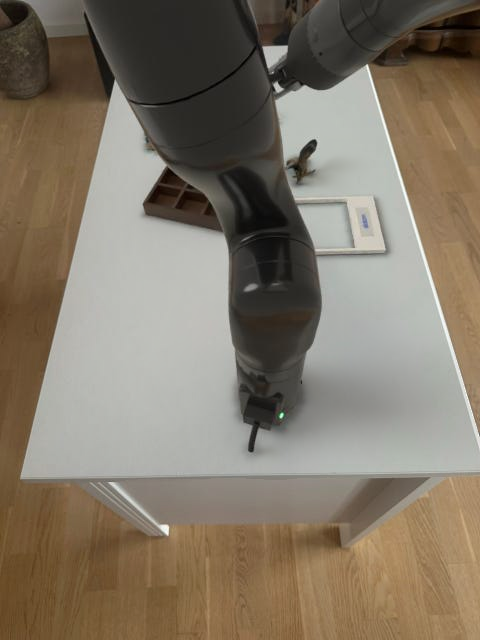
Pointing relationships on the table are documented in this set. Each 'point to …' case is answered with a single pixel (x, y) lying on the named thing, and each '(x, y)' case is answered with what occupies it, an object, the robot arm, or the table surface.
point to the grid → (180, 202)
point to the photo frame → (356, 224)
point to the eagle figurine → (302, 161)
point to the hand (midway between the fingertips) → (268, 95)
